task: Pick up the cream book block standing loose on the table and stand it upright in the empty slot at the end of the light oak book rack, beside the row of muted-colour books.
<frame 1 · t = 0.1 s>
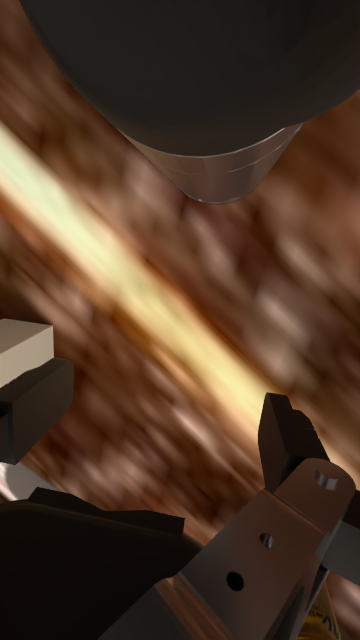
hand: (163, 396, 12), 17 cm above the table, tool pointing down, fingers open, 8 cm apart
condiment: (290, 533, 35), on the table
cream book: (29, 339, 32), on the table
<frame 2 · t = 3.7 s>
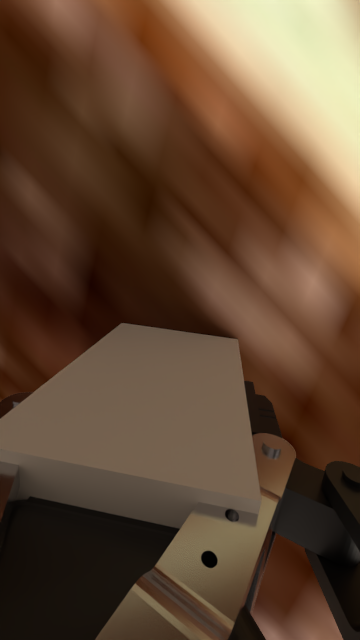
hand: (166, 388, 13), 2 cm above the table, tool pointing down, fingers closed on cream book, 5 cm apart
cream book: (174, 369, 15), on the table, touching gripper
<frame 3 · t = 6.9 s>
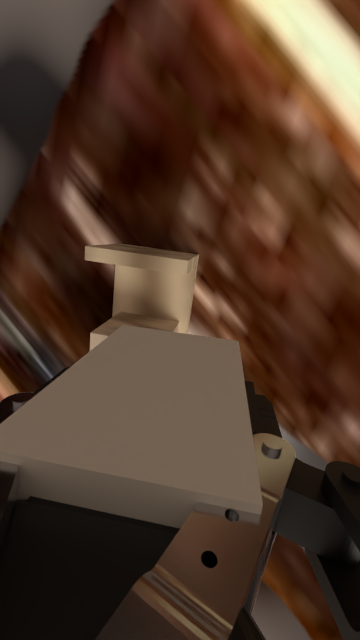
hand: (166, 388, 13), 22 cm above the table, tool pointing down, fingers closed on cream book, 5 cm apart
book rack: (147, 368, 38), on the table
cream book: (175, 371, 15), point 20 cm above the table, touching gripper
when the fingers open (4 cm above the table, at t = 10.5 s): cream book stays where it is, resting on book rack.
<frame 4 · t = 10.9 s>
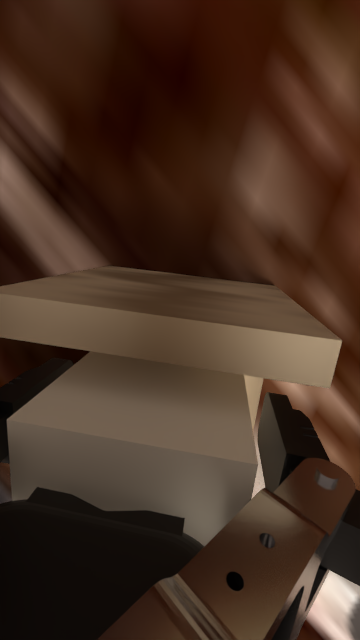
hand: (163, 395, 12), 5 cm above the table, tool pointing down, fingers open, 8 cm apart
book rack: (164, 499, 20), on the table
cream book: (178, 363, 16), point 1 cm above the table, touching book rack
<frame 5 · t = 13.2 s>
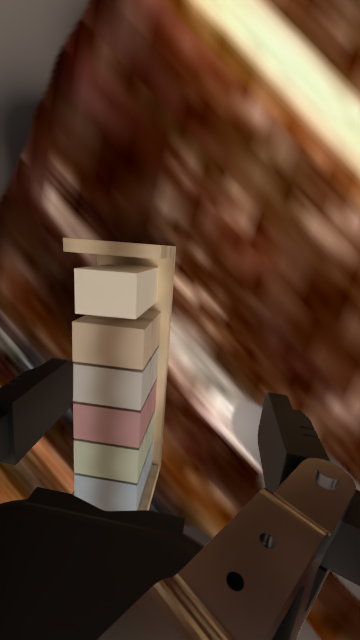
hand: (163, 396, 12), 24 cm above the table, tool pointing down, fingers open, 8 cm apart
book rack: (133, 362, 38), on the table
cream book: (134, 282, 34), point 1 cm above the table, touching book rack
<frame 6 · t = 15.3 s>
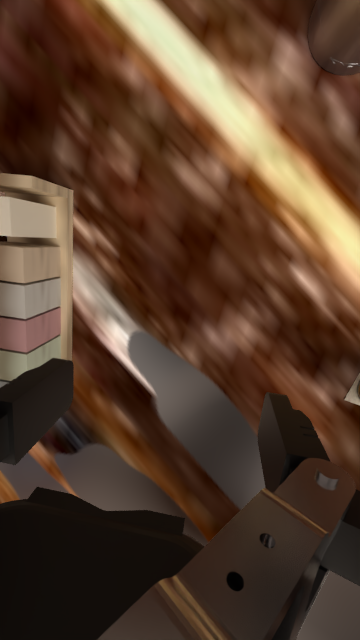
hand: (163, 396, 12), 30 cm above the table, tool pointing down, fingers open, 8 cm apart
book rack: (44, 294, 45), on the table
cream book: (37, 220, 40), point 1 cm above the table, touching book rack
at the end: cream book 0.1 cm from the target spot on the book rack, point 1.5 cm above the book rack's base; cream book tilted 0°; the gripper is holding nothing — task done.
